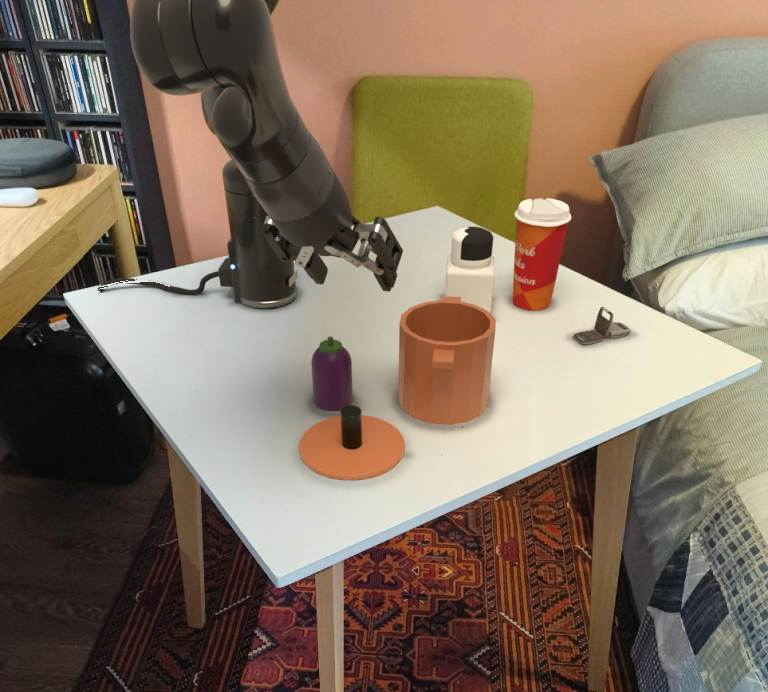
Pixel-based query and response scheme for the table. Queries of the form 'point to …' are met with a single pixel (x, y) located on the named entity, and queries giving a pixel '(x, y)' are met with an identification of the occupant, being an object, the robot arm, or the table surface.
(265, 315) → the table surface
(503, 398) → the table surface
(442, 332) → the pot
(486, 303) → the medicine bottle
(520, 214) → the coffee cup
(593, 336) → the strap clip
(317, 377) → the aubergine
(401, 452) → the lid
